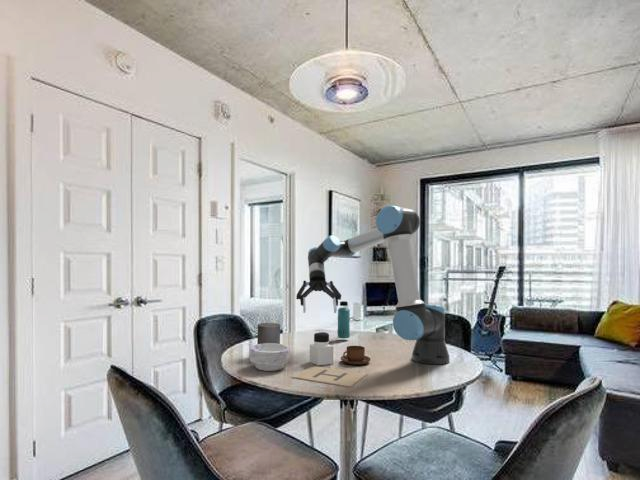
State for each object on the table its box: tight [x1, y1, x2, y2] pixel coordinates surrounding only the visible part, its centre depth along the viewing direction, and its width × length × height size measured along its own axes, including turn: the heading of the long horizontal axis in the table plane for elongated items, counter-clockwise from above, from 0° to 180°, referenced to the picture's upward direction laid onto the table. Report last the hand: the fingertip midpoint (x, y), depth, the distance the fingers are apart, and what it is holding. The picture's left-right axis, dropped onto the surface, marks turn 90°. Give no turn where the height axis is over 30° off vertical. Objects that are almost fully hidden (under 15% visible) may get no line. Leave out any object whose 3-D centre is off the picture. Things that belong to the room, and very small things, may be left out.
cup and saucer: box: [340, 345, 371, 366], centre depth 160 cm, size 12×12×6 cm
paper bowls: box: [249, 343, 291, 372], centre depth 151 cm, size 15×15×8 cm
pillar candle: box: [256, 322, 281, 345], centre depth 168 cm, size 10×10×15 cm
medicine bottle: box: [309, 331, 334, 367], centre depth 159 cm, size 7×7×12 cm
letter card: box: [291, 365, 368, 388], centre depth 140 cm, size 22×16×1 cm
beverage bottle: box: [336, 300, 351, 339], centre depth 205 cm, size 6×7×20 cm
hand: (320, 311), depth 172 cm, fingers open, 13 cm apart
